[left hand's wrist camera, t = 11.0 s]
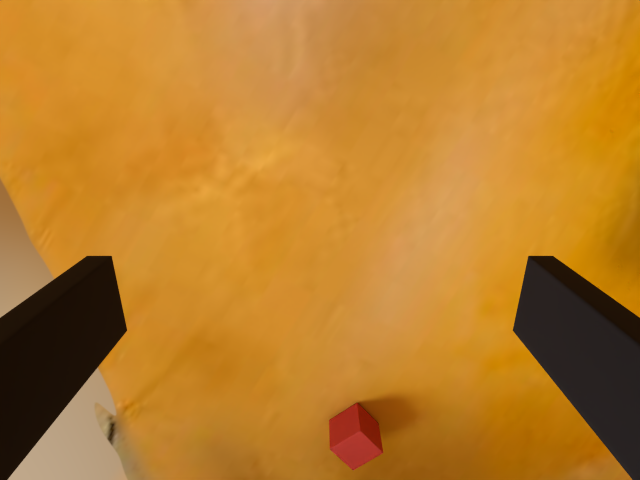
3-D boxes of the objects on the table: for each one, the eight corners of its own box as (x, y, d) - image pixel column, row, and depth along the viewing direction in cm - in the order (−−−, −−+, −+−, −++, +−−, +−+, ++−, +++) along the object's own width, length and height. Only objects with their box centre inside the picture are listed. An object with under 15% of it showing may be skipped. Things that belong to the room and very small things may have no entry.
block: (357, 402, 53) (360, 430, 49) (378, 423, 54) (383, 453, 50) (329, 420, 54) (329, 449, 50) (350, 440, 56) (353, 470, 51)
